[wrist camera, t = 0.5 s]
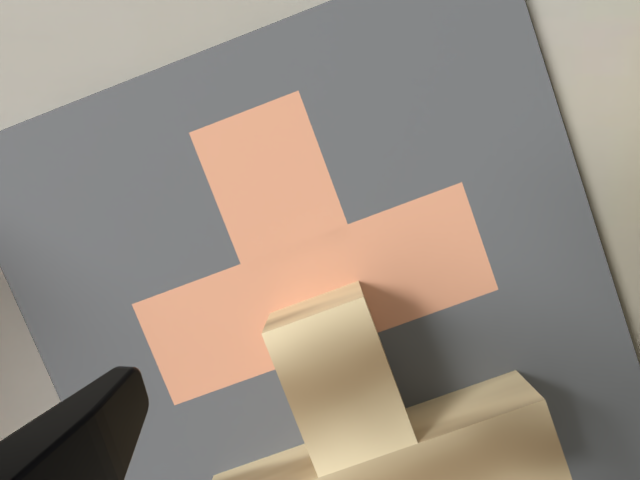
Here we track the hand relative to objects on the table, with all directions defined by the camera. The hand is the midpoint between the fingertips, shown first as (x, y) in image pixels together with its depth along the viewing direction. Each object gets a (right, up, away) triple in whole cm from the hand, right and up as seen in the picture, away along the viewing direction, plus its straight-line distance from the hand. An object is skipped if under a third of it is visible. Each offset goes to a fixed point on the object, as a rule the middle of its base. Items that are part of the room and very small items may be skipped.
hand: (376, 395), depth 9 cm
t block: (0, -4, +13) cm, 14 cm away
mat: (-1, -1, +13) cm, 13 cm away
